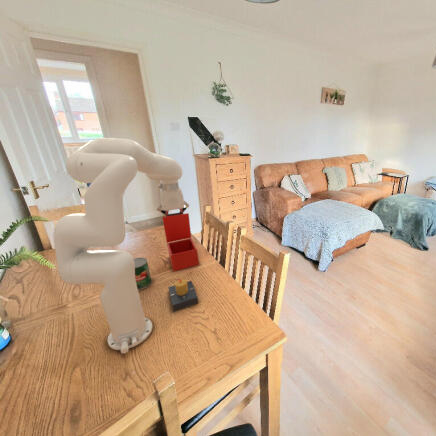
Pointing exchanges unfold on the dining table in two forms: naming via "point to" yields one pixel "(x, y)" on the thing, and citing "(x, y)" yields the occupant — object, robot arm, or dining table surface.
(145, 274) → the canned tomato
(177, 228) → the red box lid
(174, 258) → the open red box
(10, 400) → the dining table surface
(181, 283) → the knob
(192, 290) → the panel
